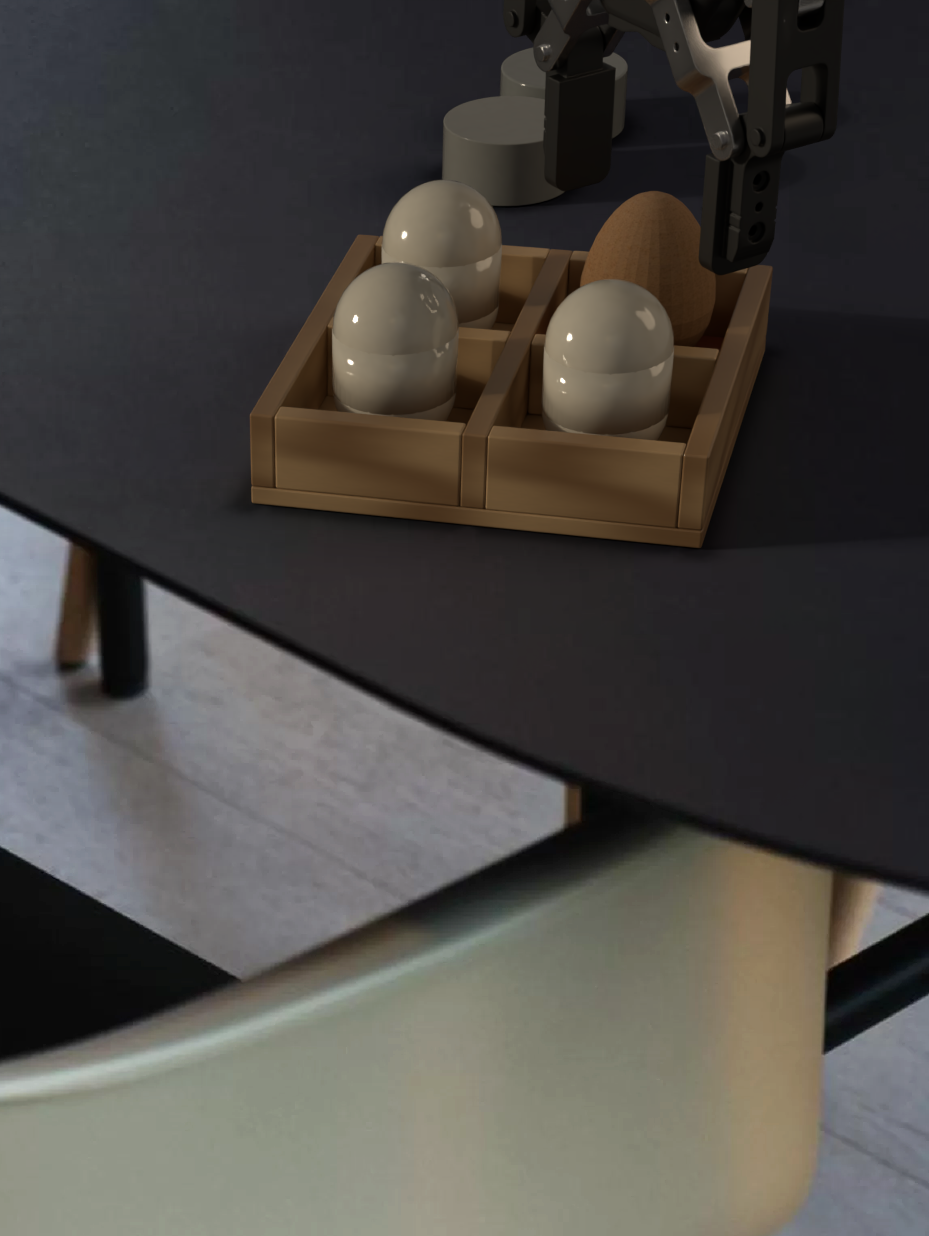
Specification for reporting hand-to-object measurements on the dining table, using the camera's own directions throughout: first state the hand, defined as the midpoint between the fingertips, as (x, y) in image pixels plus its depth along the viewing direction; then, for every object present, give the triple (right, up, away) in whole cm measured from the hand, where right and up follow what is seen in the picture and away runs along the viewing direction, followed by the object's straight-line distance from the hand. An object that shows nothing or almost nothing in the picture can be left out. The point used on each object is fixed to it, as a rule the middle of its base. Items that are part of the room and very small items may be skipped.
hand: (651, 223), depth 95 cm
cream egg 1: (-6, -3, +5) cm, 9 cm away
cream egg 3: (-2, -8, -1) cm, 8 cm away
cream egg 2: (-8, -7, 0) cm, 11 cm away
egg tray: (-4, -6, +2) cm, 8 cm away
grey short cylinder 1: (-2, +8, +18) cm, 20 cm away
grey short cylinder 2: (0, +11, +22) cm, 25 cm away
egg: (0, -4, +3) cm, 5 cm away
